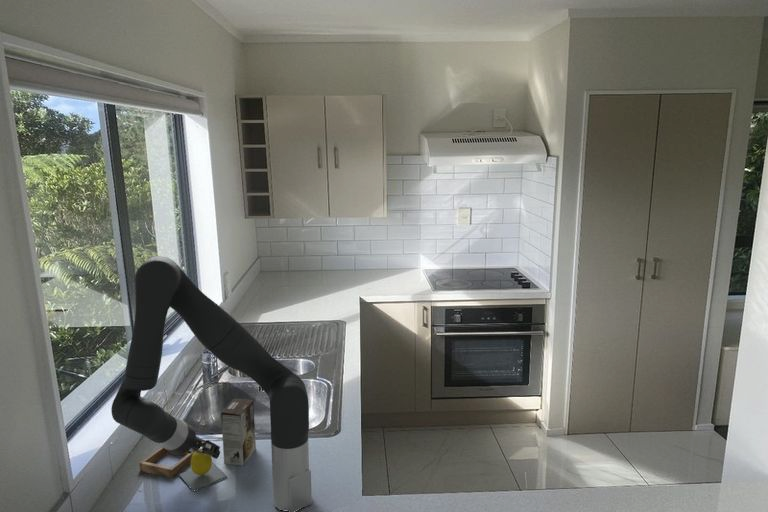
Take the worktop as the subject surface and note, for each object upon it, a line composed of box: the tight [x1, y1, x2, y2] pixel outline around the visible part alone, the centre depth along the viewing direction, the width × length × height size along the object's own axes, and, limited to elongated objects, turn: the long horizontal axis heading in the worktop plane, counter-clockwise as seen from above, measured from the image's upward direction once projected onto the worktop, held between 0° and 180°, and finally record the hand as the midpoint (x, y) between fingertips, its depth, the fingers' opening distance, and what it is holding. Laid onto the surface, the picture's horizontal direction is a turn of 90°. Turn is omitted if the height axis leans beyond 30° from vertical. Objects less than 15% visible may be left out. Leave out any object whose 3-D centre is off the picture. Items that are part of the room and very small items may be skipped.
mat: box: [178, 461, 228, 492], centre depth 148 cm, size 10×10×1 cm
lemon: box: [190, 448, 213, 476], centre depth 147 cm, size 6×6×8 cm
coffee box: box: [220, 398, 257, 466], centre depth 157 cm, size 9×6×16 cm
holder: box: [138, 446, 194, 479], centre depth 154 cm, size 11×11×2 cm
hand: (204, 452), depth 148 cm, fingers open, 8 cm apart
